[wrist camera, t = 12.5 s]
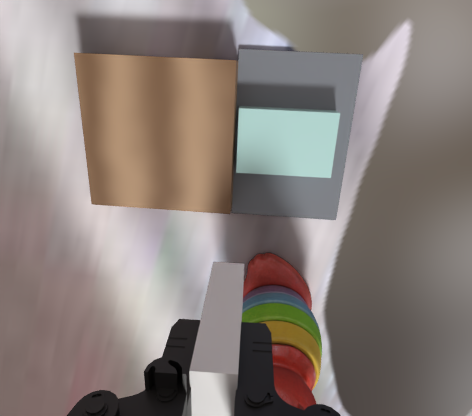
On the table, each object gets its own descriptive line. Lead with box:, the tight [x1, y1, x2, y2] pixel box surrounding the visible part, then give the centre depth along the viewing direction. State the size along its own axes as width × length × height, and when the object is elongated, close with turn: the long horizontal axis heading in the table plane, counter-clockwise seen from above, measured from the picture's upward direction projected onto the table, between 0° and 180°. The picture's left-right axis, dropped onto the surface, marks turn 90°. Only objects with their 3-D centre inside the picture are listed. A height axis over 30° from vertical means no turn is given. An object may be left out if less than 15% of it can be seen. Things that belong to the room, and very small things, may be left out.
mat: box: [232, 49, 363, 220], centre depth 34 cm, size 11×16×1 cm
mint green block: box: [236, 106, 340, 178], centre depth 33 cm, size 9×6×2 cm, turn 88°
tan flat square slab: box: [74, 53, 238, 214], centre depth 34 cm, size 14×14×3 cm
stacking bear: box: [242, 253, 322, 410], centre depth 33 cm, size 11×10×18 cm
